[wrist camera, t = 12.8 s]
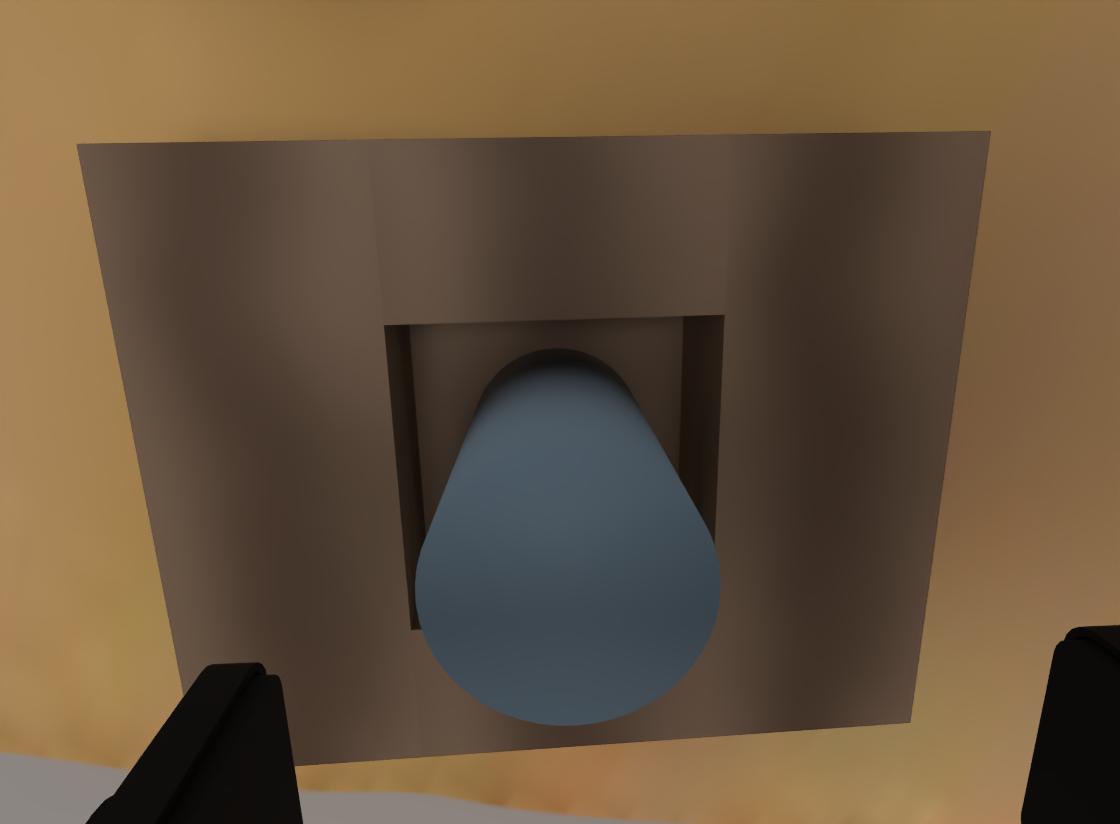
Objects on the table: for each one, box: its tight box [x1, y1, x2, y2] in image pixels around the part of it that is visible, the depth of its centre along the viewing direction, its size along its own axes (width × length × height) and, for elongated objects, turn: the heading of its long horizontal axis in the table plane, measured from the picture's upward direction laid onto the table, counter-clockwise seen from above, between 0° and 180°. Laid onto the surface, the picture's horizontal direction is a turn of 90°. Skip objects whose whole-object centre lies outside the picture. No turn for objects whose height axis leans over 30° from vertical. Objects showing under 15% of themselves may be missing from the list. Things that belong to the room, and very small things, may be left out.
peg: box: [415, 348, 721, 726], centre depth 16 cm, size 5×5×10 cm
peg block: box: [77, 131, 991, 766], centre depth 20 cm, size 20×16×5 cm
